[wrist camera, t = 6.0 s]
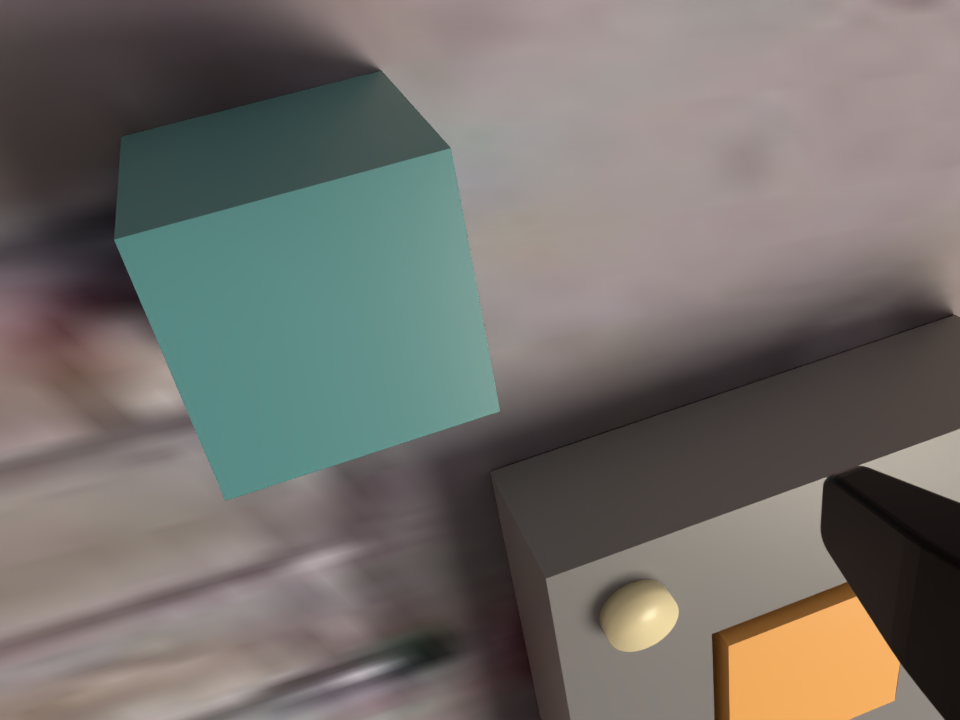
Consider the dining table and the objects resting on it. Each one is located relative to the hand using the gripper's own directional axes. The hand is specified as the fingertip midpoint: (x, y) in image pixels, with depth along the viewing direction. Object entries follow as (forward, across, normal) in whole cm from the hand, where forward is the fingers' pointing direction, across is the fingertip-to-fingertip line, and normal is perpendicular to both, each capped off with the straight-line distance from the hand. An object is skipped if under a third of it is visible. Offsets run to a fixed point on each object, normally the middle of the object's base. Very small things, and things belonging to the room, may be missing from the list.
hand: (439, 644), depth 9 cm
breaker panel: (+12, -10, +15) cm, 21 cm away
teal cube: (+12, 0, 0) cm, 12 cm away
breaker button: (+10, -10, +15) cm, 20 cm away
